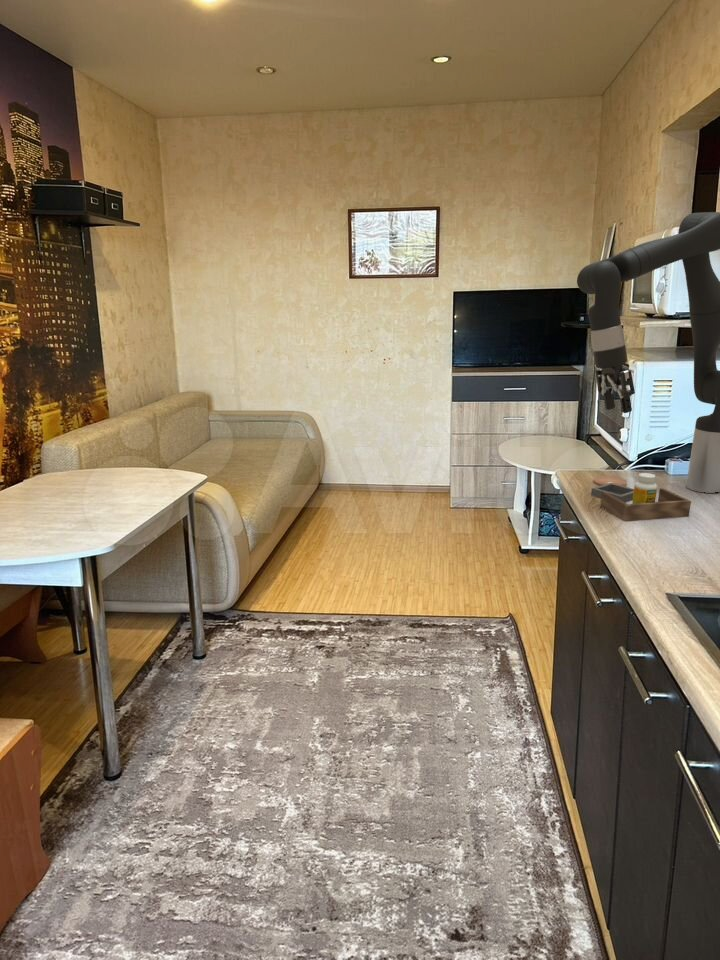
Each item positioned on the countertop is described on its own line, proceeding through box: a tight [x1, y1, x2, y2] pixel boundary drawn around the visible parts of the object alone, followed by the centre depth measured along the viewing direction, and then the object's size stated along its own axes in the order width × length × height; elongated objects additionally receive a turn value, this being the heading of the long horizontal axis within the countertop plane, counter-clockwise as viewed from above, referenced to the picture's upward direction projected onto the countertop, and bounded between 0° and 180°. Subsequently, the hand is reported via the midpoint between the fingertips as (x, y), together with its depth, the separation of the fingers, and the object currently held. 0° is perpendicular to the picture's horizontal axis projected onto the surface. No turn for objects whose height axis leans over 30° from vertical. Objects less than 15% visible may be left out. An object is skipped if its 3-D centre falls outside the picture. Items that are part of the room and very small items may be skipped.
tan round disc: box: [593, 475, 628, 487], centre depth 197 cm, size 9×9×1 cm
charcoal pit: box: [590, 483, 634, 503], centre depth 185 cm, size 9×9×2 cm
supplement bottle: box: [631, 472, 658, 504], centre depth 172 cm, size 5×5×10 cm
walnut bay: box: [599, 487, 692, 522], centre depth 173 cm, size 18×11×4 cm, turn 103°
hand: (618, 410), depth 169 cm, fingers open, 8 cm apart
